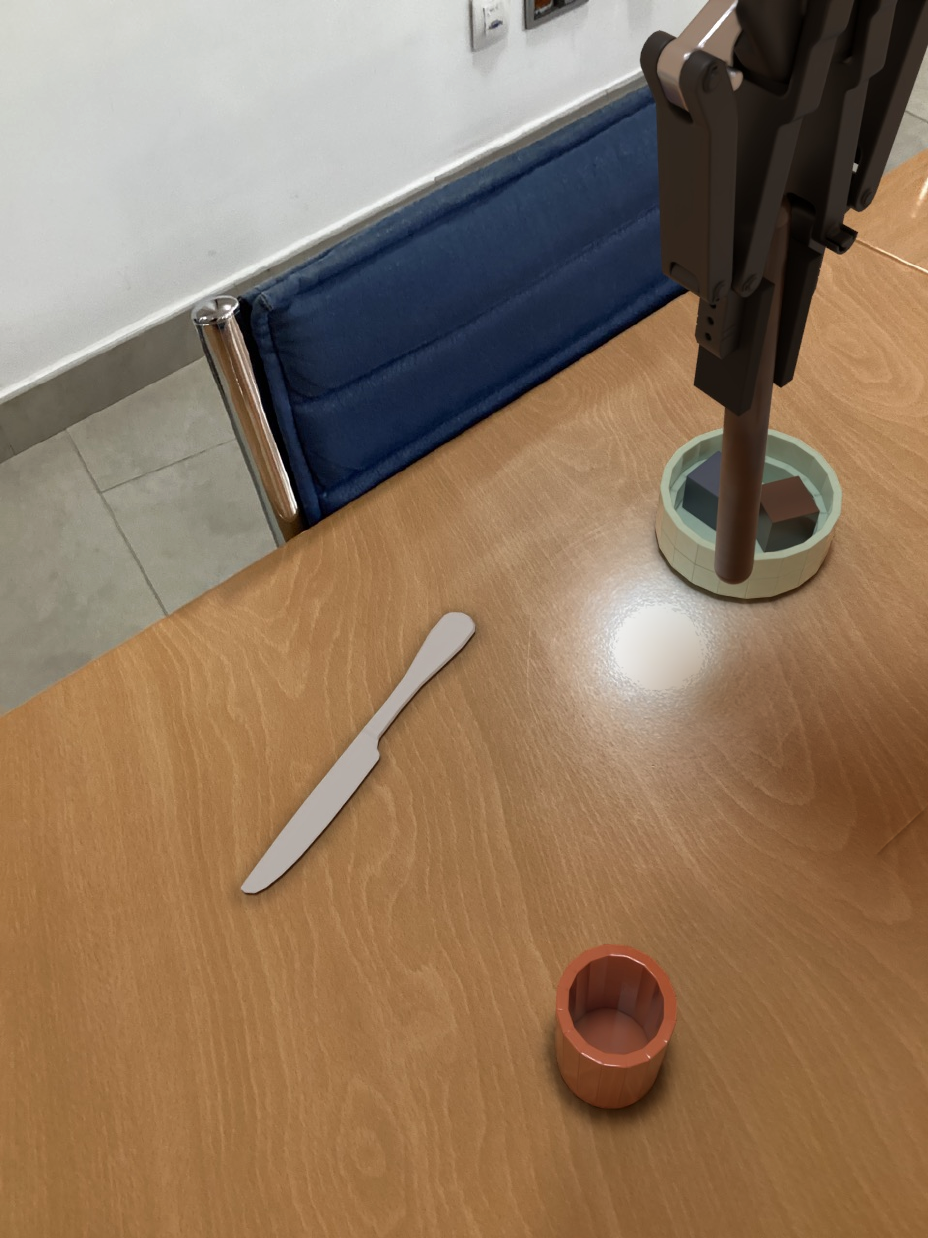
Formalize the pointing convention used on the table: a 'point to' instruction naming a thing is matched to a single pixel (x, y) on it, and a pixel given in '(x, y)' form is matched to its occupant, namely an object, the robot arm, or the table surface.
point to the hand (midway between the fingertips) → (743, 381)
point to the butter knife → (358, 755)
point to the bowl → (772, 571)
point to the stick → (750, 435)
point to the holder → (613, 1024)
